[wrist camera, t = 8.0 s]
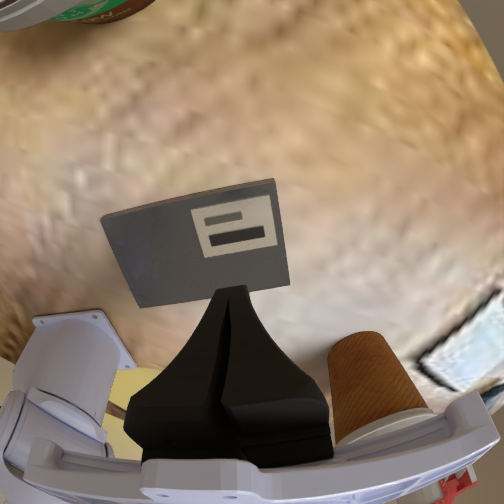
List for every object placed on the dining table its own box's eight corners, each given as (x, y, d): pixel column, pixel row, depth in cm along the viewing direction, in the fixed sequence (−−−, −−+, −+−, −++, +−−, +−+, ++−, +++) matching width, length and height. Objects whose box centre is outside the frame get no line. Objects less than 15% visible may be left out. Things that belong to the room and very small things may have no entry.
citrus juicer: (468, 396, 40) (505, 482, 23) (433, 436, 49) (457, 508, 32) (397, 420, 40) (428, 523, 23) (371, 456, 49) (390, 536, 32)
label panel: (142, 302, 24) (139, 310, 23) (104, 215, 20) (98, 222, 19) (288, 278, 23) (290, 287, 22) (273, 178, 19) (275, 183, 18)
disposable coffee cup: (351, 306, 25) (399, 427, 15) (415, 331, 28) (462, 425, 18) (293, 370, 29) (311, 478, 19) (359, 384, 32) (385, 473, 22)
